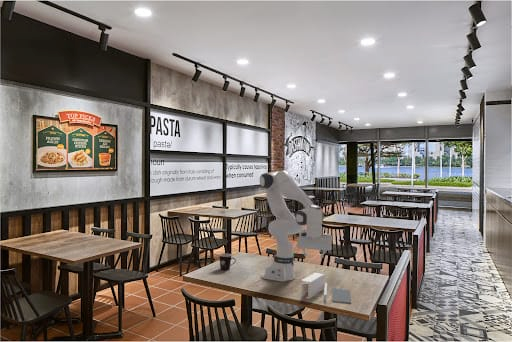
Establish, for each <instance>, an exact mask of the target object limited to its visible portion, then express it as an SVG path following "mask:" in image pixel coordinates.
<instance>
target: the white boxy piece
mask: <svg viewBox="0 0 512 342" xmlns="http://www.w3.org/2000/svg"><path fill="white" fill-rule="evenodd" d="M300 282H303V283H305V284H301V295H300V297H301V298H305V299H308V300H309V299H311V298H312V297H313V296H316V295H317V294H318V293H319V292H321V291H323V290H324V291H325V274H324V273H319V272H314V273H312V274H310V275H309V276H306V277H305V278H303V279H301V280H300Z"/></svg>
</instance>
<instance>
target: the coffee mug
mask: <svg viewBox="0 0 512 342" xmlns="http://www.w3.org/2000/svg"><path fill="white" fill-rule="evenodd" d="M218 256H219V266H220V268H219V269H220V270H221V271H230V270H231V266H232V265H234V264H235V263H236V262H237V260H236V258H235V257H232V254H231V253H220V254H218ZM232 259H233V260H234V261H233V263H231V261H232Z"/></svg>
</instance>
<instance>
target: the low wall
mask: <svg viewBox="0 0 512 342" xmlns="http://www.w3.org/2000/svg"><path fill="white" fill-rule="evenodd" d="M327 295H328V283H327V282H324V293H323V301H324V302H327V297H328V296H327Z"/></svg>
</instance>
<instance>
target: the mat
mask: <svg viewBox="0 0 512 342" xmlns="http://www.w3.org/2000/svg"><path fill="white" fill-rule="evenodd" d="M332 302H333V303H338V304H339V303H340V304H352V295H351V290H350V289H343V288H332Z"/></svg>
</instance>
